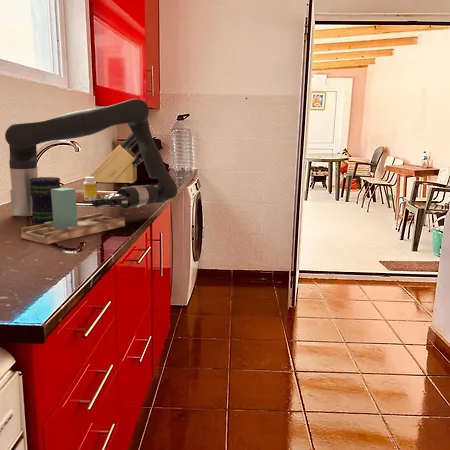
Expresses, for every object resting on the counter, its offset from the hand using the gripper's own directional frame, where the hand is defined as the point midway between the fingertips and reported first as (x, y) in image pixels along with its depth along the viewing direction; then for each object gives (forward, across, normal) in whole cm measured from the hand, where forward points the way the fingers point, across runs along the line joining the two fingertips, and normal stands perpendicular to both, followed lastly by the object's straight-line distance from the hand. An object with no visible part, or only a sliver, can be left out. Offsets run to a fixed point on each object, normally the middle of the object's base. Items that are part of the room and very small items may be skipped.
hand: (93, 203), depth 150 cm
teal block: (+11, 0, +6) cm, 13 cm away
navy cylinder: (+4, -20, +8) cm, 22 cm away
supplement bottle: (-35, -45, +8) cm, 57 cm away
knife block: (-87, -82, +8) cm, 120 cm away
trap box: (+7, 0, +8) cm, 11 cm away
